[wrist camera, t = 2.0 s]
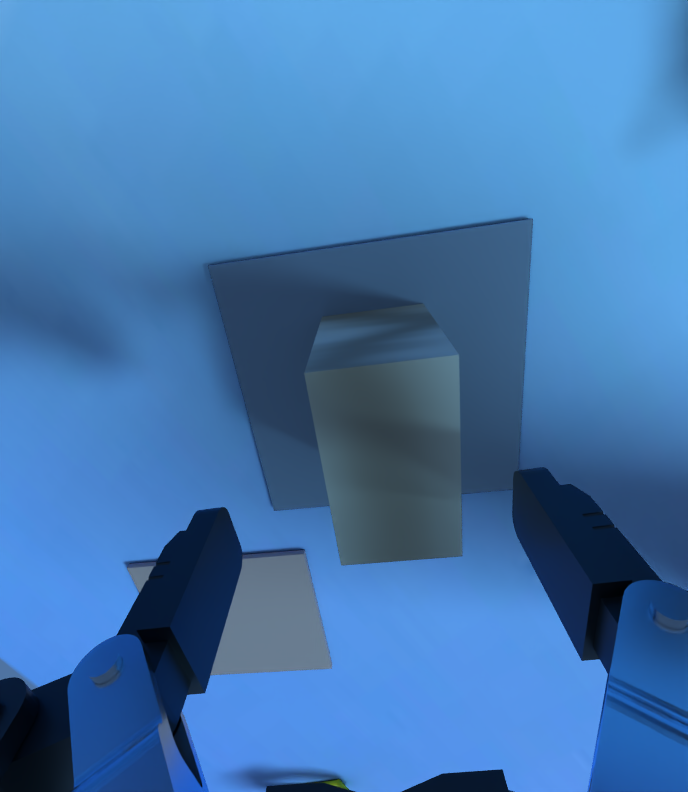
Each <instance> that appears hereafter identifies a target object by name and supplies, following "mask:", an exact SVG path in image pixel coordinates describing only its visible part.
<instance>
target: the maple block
mask: <svg viewBox="0 0 688 792" xmlns="http://www.w3.org/2000/svg"><path fill="white" fill-rule="evenodd" d="M304 375H305V380H306V385H307V391H308V396H309V401H310V406H311V411H312V416H313V422H314V427H315V432H316V437H317V442H318V447H319V453H320V458H321V463H322V468H323V473H324V479H325V484H326V489H327V494H328V499H329V504H330V510H331V515H332V520H333V525H334V530H335V535H336V541H337V546H338V551H339V556H340V561H341V565H354V564H367V563H380V562H393V561H406V560H419V559H433V558H446V557H459V556H462V504H461V441H460V378H459V354H458V352H457V351H456V350H455V348H454V347H453V345H452V344H451V342H450V341H449V340H448V338H447V337H446V335H445V334H444V332H443V331H442V330H441V328H440V327H439V325H438V324H437V322H436V321H435V320H434V318H433V317H432V315H431V314H430V312H429V311H428V310H427V308H426V307H425V305H424V304H417V305H409V306H401V307H393V308H386V309H378V310H370V311H362V312H355V313H347V314H339V315H332V316H324V317H322V319H321V322H320V325H319V328H318V331H317V334H316V337H315V341H314V344H313V347H312V350H311V353H310V356H309V359H308V363H307V366H306V369H305V372H304Z"/></svg>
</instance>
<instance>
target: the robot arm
mask: <svg viewBox="0 0 688 792" xmlns="http://www.w3.org/2000/svg"><path fill="white" fill-rule="evenodd" d="M512 515H513V523H514V528H515V531H516V534H517V537H518V539H519V541H520V543H521V545H522V547H523V549H524V551H525V552H526V554H527V556H528V558H529V560H530V562H531V564H532V566H533V568H534V570H535V572H536V574H537V576H538V577H539V579H540V581H541V583H542V585H543V587H544V589H545V591H546V593H547V595H548V597H549V599H550V601H551V603H552V604H553V606H554V608H555V610H556V612H557V614H558V616H559V618H560V620H561V622H562V624H563V626H564V628H565V629H566V631H567V633H568V635H569V637H570V639H571V641H572V643H573V645H574V647H575V649H576V651H577V653H578V654H579V656H580V658H581V660H582V661H584V660H595V659H600V660H601V662H602V664H603V666H604V668H605V669H606V671H607V673H608V677H607V682H606V688H605V694H604V700H603V706H602V711H601V717H600V723H599V729H598V734H597V740H596V746H595V752H594V758H593V763H592V769H591V775H590V780H589V786H588V791H587V792H688V591H686V590H684V589H682V588H680V587H678V586H675V585H673V584H670V583H666V582H663V581H662V580H661V579H660V578H659V577H658V576H657V575H656V574H655V572H654V571H653V570H652V569H651V568H650V566H649V565H648V564H647V563H646V562H645V561H644V559H643V558H642V557H641V556H640V555H639V554H638V552H637V551H636V550H635V549H634V548H633V546H632V545H631V544H630V543H629V542H628V541H627V539H626V538H625V537H624V536H623V535H622V533H621V532H620V531H619V530H618V529H617V528H615V527H614V524H613V523H612V522H611V520H610V519H609V518H608V517H607V516H606V515H604V514H603V511H602V510H601V509H600V507H599V506H598V505H597V504H596V503H595V502H594V500H593V499H592V498H591V497H590V496H589V495H587V494H586V493H584V492H583V491H581V490H579V489H578V488H576V487H575V486H573V485H571V484H567V485H559V484H558V482H557V481H556V480H555V478H554V477H553V476H552V474H551V473H550V472H549V471H548V469H546V468H544V467H542V468H534V469H526V470H519V471H515V472H514V475H513V511H512ZM241 569H242V549H241V545H240V542H239V540H238V537H237V534H236V531H235V529H234V526H233V523H232V521H231V518H230V515H229V513H228V511H227V509H226V508H225V507H221V508H213V509H205V510H198V511H197V512H196V513H195V514H194V516H193V518H192V520H191V522H190V524H189V526H188V528H187V530H186V531H179V532H178V533H177V534H176V535H175V537H174V538H173V539H172V540H171V541H170V542H169V543H168V544H167V545H166V546H165V547H164V549H163V551H162V553H161V554H160V556H159V558H158V560H157V562H156V566H154V567H153V569H152V571H151V573H150V575H149V579H148V580H146V582H145V584H144V586H143V588H142V589H141V591H140V593H139V595H138V597H137V599H136V601H135V602H134V604H133V606H132V608H131V610H130V612H129V614H128V615H127V617H126V619H125V621H124V623H123V625H122V626H121V628H120V630H119V632H118V634H117V635H116V636H114V637H112V638H109V639H107V640H106V641H104V642H102V643H100V644H99V645H98V646H96V647H95V648H94V649H92V650H91V651H90V652H89V653H88V654H87V655H86V656H85V657H84V658H83V659H82V660H81V661H80V663H79V664H78V665H77V667H76V668H75V670H74V672H73V673H72V674H70V675H67V676H65V677H63V678H60V679H58V680H55V681H53V682H50V683H48V684H45V685H43V686H41V687H38V688H36V689H33V690H30V688H29V687H28V686H27V685H26V684H25V682H24V681H23V680H21V679H19V678H7V679H3V680H0V792H209V790H208V787H207V784H206V781H205V778H204V775H203V772H202V769H201V766H200V763H199V760H198V757H197V754H196V750H195V747H194V744H193V741H192V738H191V735H190V732H189V729H188V726H187V723H186V720H185V717H184V715H183V713H182V709H183V706H184V703H185V700H186V697H187V695H190V694H201V693H205V691H206V688H207V685H208V681H209V678H210V674H211V671H212V668H213V664H214V661H215V657H216V654H217V651H218V647H219V644H220V640H221V637H222V634H223V630H224V627H225V623H226V620H227V617H228V613H229V610H230V606H231V603H232V600H233V596H234V593H235V589H236V586H237V583H238V579H239V576H240V572H241ZM266 792H355V791H351V790H348V789H344V788H341V787H337V786H334V785H330V784H327V783H323V782H320V783H306V784H292V785H278V786H267V788H266ZM402 792H513V791H510V790H508V787H507V784H506V780H505V777H504V773H503V769H501V770H487V771H473V772H459V773H446V774H441V775H439V776H436V777H434V778H432V779H429V780H427V781H425V782H423V783H420V784H418V785H416V786H413V787H411V788H409V789H407V790H404V791H402Z"/></svg>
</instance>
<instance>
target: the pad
mask: <svg viewBox="0 0 688 792" xmlns="http://www.w3.org/2000/svg"><path fill="white" fill-rule="evenodd" d="M154 566H156V562H146V563H133V564H129V566H128V567H127V569H128V571H129V573H130V575H131V577H132V579H133V581H134V583H135V585H136V587H137V589H138V591H139V593H140V591H141V589H142V588H143V586H144V584H145V582H146V580H148V579H149V575H150V573H151V571H152V569H153V567H154ZM315 669H332V662H331V657H330V653H329V649H328V645H327V641H326V637H325V633H324V628H323V624H322V620H321V616H320V612H319V608H318V604H317V599H316V595H315V591H314V587H313V583H312V579H311V575H310V570H309V566H308V562H307V558H306V554H305V550H296V551H283V552H271V553H258V554H246V555H242V569H241V572H240V576H239V579H238V583H237V586H236V589H235V593H234V596H233V600H232V603H231V606H230V610H229V613H228V617H227V620H226V623H225V627H224V630H223V634H222V637H221V640H220V644H219V647H218V651H217V654H216V657H215V661H214V664H213V668H212V671H211V674H210V675H222V674H241V673H259V672H278V671H296V670H315Z"/></svg>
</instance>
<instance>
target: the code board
mask: <svg viewBox="0 0 688 792" xmlns="http://www.w3.org/2000/svg"><path fill="white" fill-rule="evenodd" d="M532 228H533V219H525V220H518V221H511V222H505V223H498V224H491V225H484V226H477V227H470V228H463V229H456V230H449V231H442V232H435V233H428V234H421V235H414V236H407V237H400V238H394V239H387V240H380V241H373V242H366V243H359V244H352V245H345V246H338V247H331V248H324V249H317V250H310V251H303V252H296V253H289V254H283V255H276V256H269V257H262V258H255V259H248V260H241V261H234V262H227V263H220V264H213V265H208V268H209V271H210V275H211V279H212V282H213V286H214V290H215V293H216V297H217V301H218V305H219V308H220V312H221V316H222V319H223V323H224V327H225V331H226V334H227V338H228V342H229V345H230V349H231V353H232V356H233V360H234V364H235V368H236V371H237V375H238V379H239V382H240V386H241V390H242V394H243V397H244V401H245V405H246V408H247V412H248V416H249V419H250V423H251V427H252V431H253V434H254V438H255V442H256V445H257V449H258V453H259V457H260V460H261V464H262V468H263V471H264V475H265V479H266V482H267V486H268V490H269V494H270V497H271V501H272V505H273V508H274V511H278V510H289V509H300V508H311V507H323V506H330V504H329V499H328V494H327V489H326V484H325V479H324V473H323V468H322V463H321V458H320V453H319V447H318V442H317V437H316V432H315V427H314V422H313V416H312V411H311V406H310V401H309V396H308V391H307V385H306V380H305V375H304V372H305V369H306V366H307V363H308V359H309V356H310V353H311V350H312V347H313V344H314V341H315V337H316V334H317V331H318V328H319V325H320V322H321V319H322V317H324V316H332V315H339V314H347V313H355V312H362V311H370V310H378V309H386V308H393V307H401V306H409V305H417V304H424V305H425V307H426V308H427V310H428V311H429V312H430V314H431V315H432V317H433V318H434V320H435V321H436V322H437V324H438V325H439V327H440V328H441V330H442V331H443V332H444V334H445V335H446V337H447V338H448V340H449V341H450V342H451V344H452V345H453V347H454V348H455V350H456V351H457V352H458V354H459V378H460V441H461V494H469V493H480V492H491V491H502V490H513V475H514V472H515V471H518V469H519V452H520V435H521V418H522V400H523V383H524V366H525V349H526V331H527V314H528V297H529V280H530V262H531V245H532Z"/></svg>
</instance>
